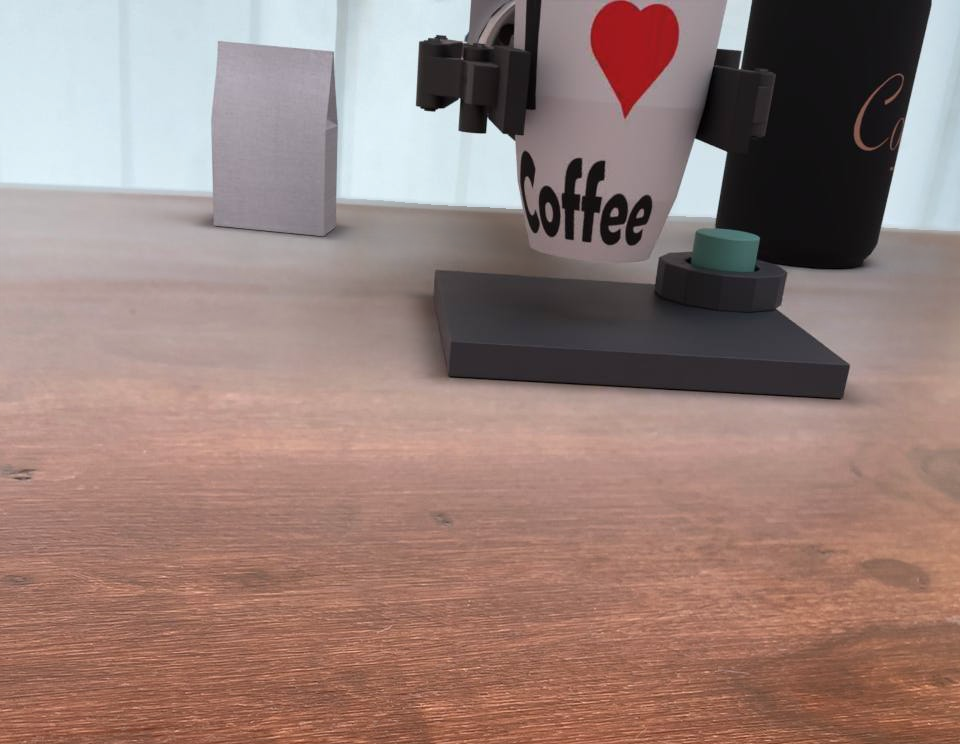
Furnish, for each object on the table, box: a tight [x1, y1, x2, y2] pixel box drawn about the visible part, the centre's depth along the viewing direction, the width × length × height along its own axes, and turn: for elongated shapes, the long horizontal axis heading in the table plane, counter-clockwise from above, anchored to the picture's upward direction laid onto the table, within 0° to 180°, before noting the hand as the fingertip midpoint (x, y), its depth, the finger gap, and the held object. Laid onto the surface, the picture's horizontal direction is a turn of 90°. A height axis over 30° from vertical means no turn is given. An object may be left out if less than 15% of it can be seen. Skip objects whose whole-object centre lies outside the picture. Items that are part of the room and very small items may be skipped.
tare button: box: [691, 227, 760, 272], centre depth 56 cm, size 3×3×2 cm
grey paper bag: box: [210, 40, 339, 237], centre depth 71 cm, size 4×7×10 cm, turn 85°
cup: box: [514, 0, 728, 264], centre depth 47 cm, size 8×8×10 cm
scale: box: [433, 251, 851, 399], centre depth 53 cm, size 16×14×3 cm
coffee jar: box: [714, 0, 933, 269], centre depth 75 cm, size 11×11×18 cm
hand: (631, 103), depth 43 cm, fingers closed on cup, 8 cm apart
